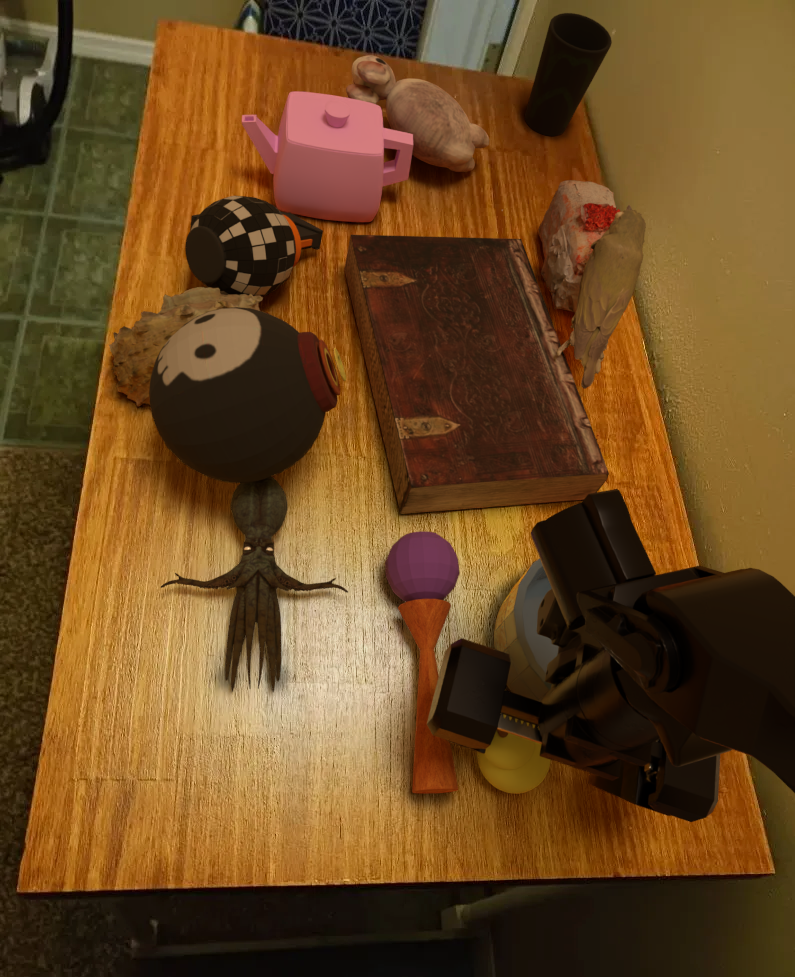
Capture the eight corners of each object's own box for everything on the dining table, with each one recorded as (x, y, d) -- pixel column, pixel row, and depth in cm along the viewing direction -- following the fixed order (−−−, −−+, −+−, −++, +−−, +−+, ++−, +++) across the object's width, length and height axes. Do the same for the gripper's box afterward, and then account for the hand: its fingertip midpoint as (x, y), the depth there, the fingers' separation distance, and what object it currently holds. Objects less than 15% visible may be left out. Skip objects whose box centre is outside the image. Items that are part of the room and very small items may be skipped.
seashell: (287, 361, 78) (295, 277, 71) (180, 447, 70) (176, 362, 62) (199, 306, 81) (197, 219, 73) (86, 382, 72) (70, 293, 65)
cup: (514, 131, 103) (547, 39, 93) (519, 96, 107) (551, 5, 97) (572, 148, 104) (611, 59, 94) (574, 113, 108) (612, 24, 98)
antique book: (591, 498, 76) (614, 471, 72) (399, 515, 71) (411, 487, 67) (510, 270, 90) (524, 236, 86) (343, 271, 85) (350, 234, 81)
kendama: (394, 788, 56) (384, 521, 65) (393, 796, 61) (384, 548, 70) (481, 784, 56) (459, 518, 65) (472, 793, 61) (453, 546, 70)
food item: (613, 328, 89) (655, 261, 80) (544, 322, 87) (580, 254, 79) (588, 238, 95) (624, 168, 87) (523, 231, 94) (554, 159, 85)
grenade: (159, 176, 73) (277, 167, 84) (151, 274, 79) (263, 254, 90) (245, 225, 69) (359, 209, 80) (231, 326, 74) (339, 298, 85)
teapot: (236, 211, 86) (239, 126, 77) (242, 146, 91) (246, 60, 83) (403, 233, 89) (424, 154, 81) (399, 169, 95) (418, 89, 86)
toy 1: (120, 303, 63) (302, 242, 62) (198, 419, 73) (356, 369, 72) (107, 425, 54) (319, 357, 53) (198, 537, 65) (377, 483, 63)
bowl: (648, 761, 65) (682, 744, 60) (477, 703, 64) (498, 682, 60) (663, 602, 72) (694, 577, 68) (511, 549, 72) (532, 520, 67)
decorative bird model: (642, 220, 83) (670, 198, 78) (587, 398, 79) (613, 387, 74) (599, 198, 82) (625, 175, 77) (541, 378, 78) (565, 365, 73)
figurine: (148, 687, 56) (168, 452, 63) (153, 701, 61) (172, 481, 68) (355, 688, 59) (352, 462, 66) (343, 700, 64) (342, 490, 71)
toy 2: (376, 101, 102) (301, 80, 90) (407, 45, 98) (334, 14, 86) (530, 243, 96) (472, 241, 83) (571, 188, 92) (517, 178, 80)
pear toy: (548, 809, 60) (531, 772, 53) (477, 794, 62) (453, 757, 55) (560, 738, 63) (546, 694, 56) (492, 725, 65) (470, 682, 58)
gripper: (776, 623, 51) (660, 695, 64) (497, 527, 51) (437, 619, 64) (774, 802, 45) (646, 840, 58) (458, 695, 45) (401, 758, 58)
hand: (532, 757), depth 60 cm, fingers open, 9 cm apart
